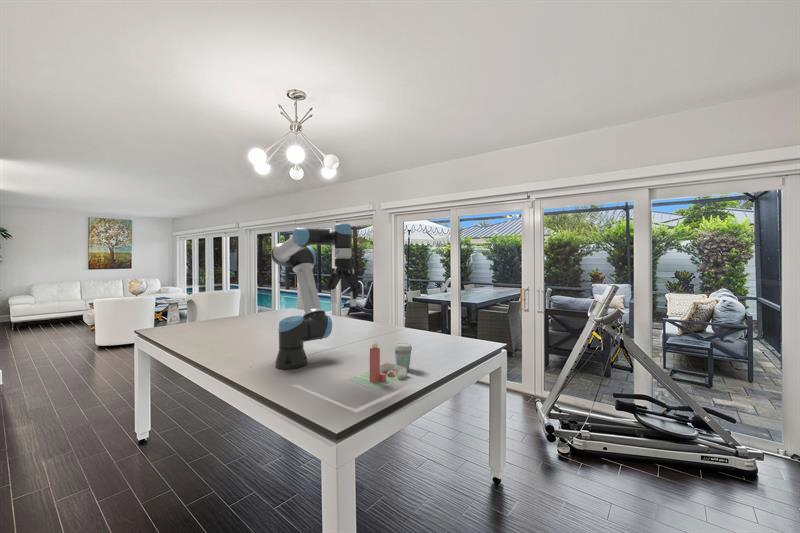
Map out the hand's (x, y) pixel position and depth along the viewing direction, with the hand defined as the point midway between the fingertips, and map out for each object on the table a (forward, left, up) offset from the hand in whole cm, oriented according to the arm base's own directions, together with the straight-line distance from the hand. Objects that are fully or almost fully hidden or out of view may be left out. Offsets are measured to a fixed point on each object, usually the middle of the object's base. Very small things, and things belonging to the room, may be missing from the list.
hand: (343, 304), depth 158 cm
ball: (+20, +10, -30) cm, 38 cm away
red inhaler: (+20, 0, -30) cm, 36 cm away
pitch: (+18, +1, -32) cm, 36 cm away
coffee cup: (+17, +22, -32) cm, 42 cm away
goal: (+20, +11, -32) cm, 39 cm away
